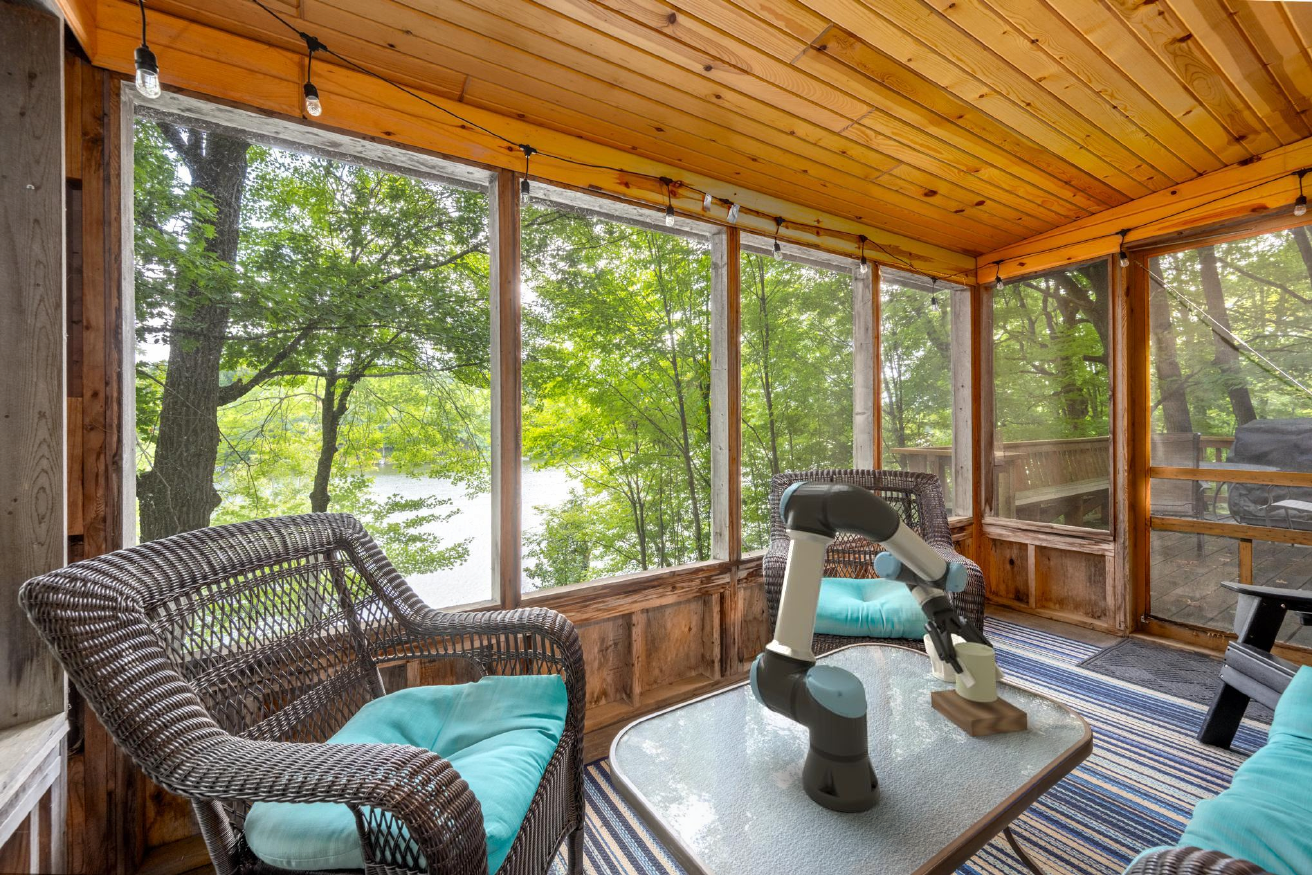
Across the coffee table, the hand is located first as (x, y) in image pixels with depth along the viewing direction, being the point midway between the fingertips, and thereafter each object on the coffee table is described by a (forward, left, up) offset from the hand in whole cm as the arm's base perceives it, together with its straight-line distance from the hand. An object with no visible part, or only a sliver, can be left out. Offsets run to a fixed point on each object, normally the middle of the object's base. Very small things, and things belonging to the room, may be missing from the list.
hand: (986, 682), depth 134 cm
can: (-1, +3, -4) cm, 5 cm away
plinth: (-1, +3, -10) cm, 11 cm away
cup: (+8, +26, -11) cm, 29 cm away
